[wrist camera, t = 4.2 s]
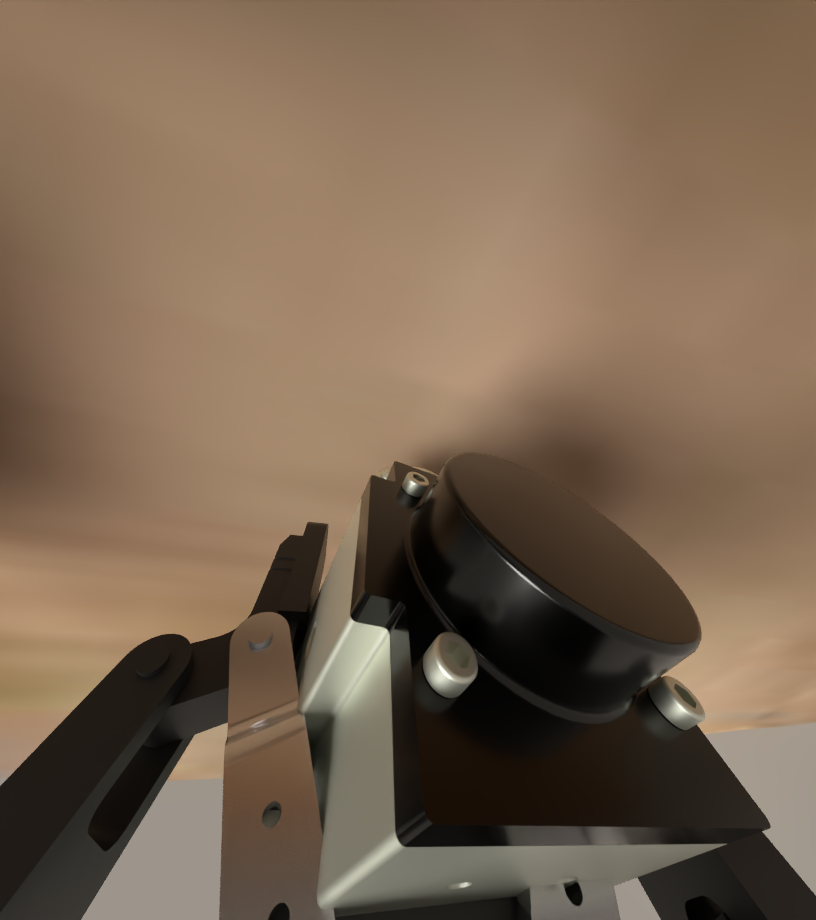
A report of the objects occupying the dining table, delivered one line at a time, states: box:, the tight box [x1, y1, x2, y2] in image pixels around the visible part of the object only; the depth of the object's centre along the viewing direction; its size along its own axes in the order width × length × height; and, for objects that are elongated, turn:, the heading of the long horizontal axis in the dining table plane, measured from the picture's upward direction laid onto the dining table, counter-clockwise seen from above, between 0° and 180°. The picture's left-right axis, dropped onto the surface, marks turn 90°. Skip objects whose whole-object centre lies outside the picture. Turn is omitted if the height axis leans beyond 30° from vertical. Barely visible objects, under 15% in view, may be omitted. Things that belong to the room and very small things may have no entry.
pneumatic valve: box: [262, 452, 770, 917], centre depth 9 cm, size 6×12×12 cm, turn 156°
